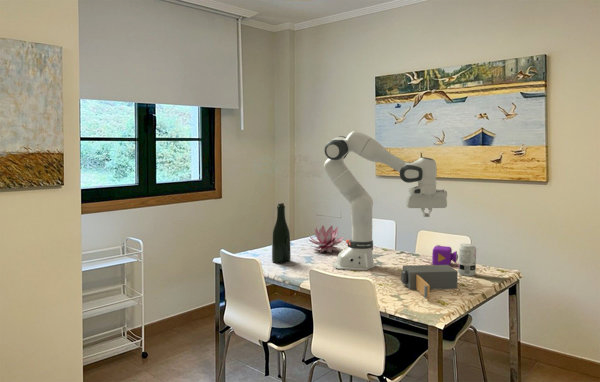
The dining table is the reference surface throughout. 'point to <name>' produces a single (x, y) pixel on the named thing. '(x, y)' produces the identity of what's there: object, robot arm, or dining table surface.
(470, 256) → the supplement can
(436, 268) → the grey cabinet
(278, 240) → the beer bottle
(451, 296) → the dining table surface
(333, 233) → the decorative flower
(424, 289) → the side door
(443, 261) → the toy camera
